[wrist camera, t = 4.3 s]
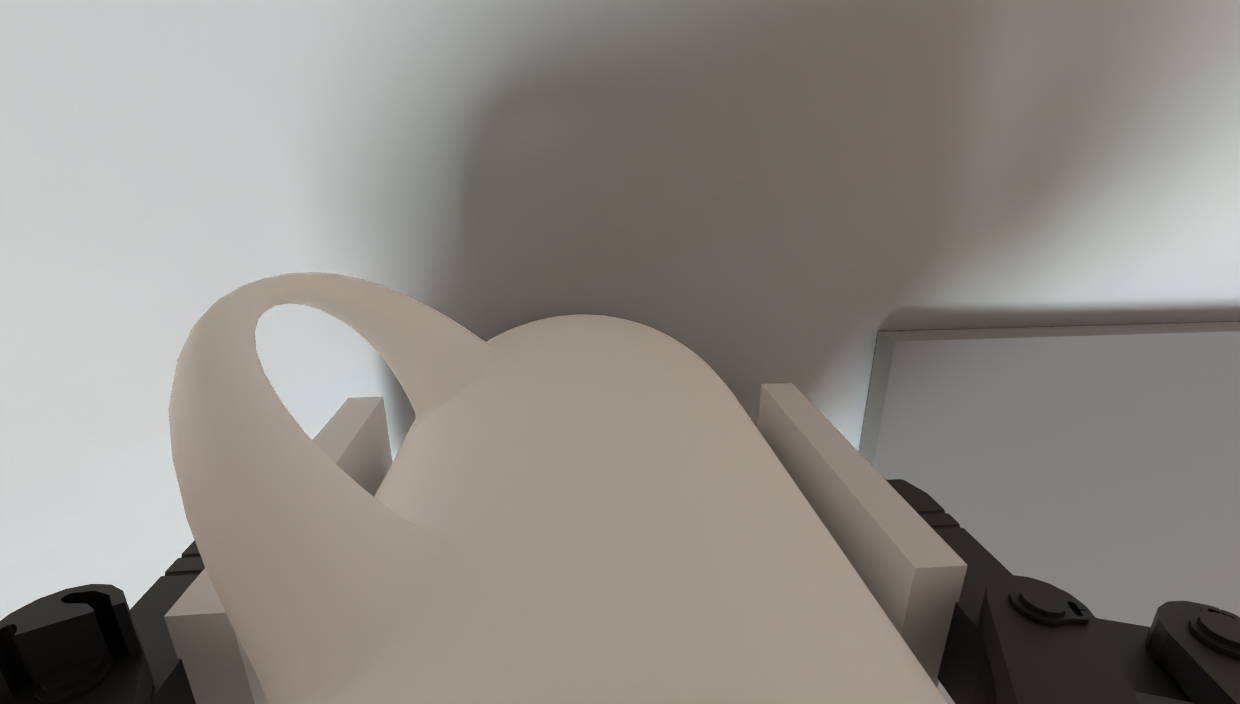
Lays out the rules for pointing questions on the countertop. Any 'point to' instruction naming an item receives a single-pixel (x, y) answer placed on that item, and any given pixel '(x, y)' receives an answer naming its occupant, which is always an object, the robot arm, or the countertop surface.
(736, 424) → the mug
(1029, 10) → the countertop surface
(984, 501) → the plate
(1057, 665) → the robot arm
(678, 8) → the countertop surface
